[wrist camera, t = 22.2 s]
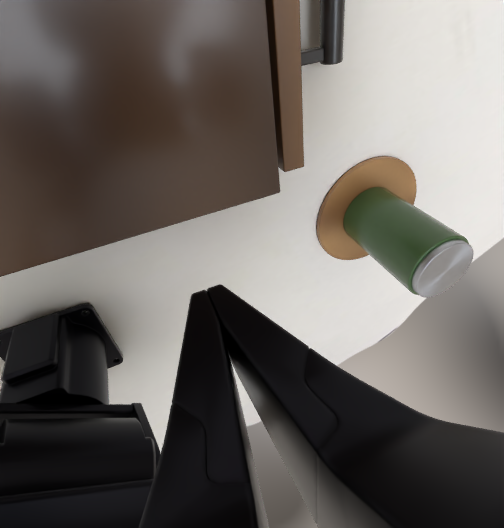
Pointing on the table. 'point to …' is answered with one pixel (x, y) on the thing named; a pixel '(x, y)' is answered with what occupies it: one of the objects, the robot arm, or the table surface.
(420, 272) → the can
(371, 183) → the coaster
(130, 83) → the cabinet
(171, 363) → the table surface
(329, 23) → the drawer
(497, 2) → the table surface
